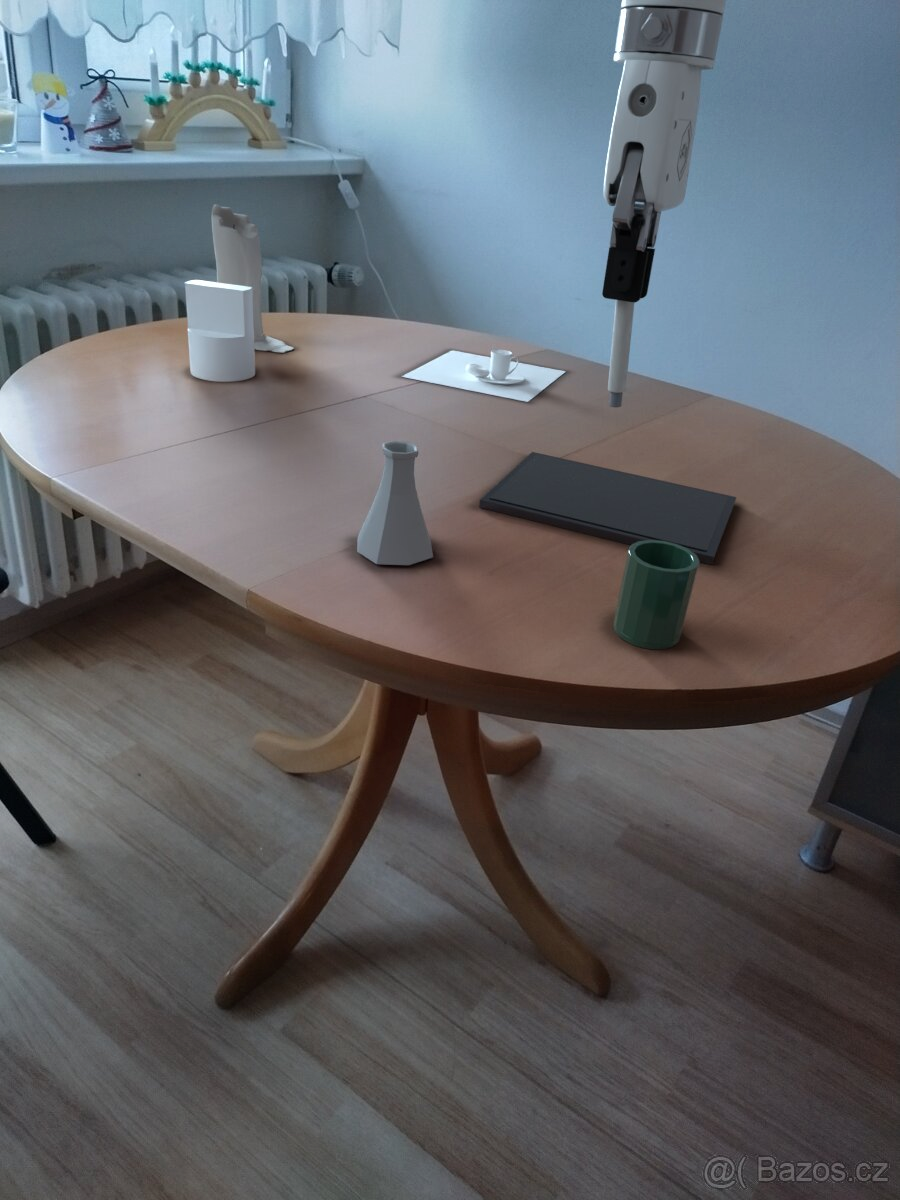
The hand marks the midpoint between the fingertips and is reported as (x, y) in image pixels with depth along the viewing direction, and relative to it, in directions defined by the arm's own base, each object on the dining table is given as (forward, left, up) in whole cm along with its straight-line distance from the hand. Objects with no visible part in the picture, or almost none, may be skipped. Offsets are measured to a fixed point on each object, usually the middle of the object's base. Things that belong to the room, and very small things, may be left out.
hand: (624, 296), depth 74 cm
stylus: (-1, 0, -9) cm, 9 cm away
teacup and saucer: (+29, -50, -23) cm, 62 cm away
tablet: (-1, -10, -23) cm, 25 cm away
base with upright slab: (+60, -25, -23) cm, 69 cm away
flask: (+14, +12, -23) cm, 30 cm away
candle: (+66, -42, -23) cm, 82 cm away
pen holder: (-10, +14, -23) cm, 29 cm away
